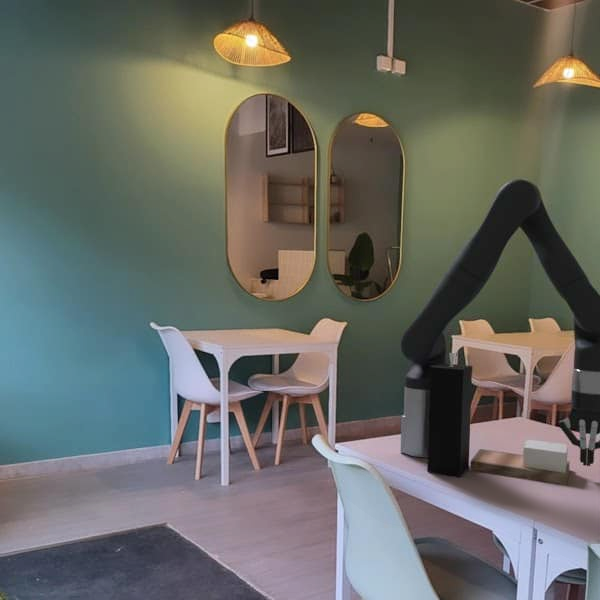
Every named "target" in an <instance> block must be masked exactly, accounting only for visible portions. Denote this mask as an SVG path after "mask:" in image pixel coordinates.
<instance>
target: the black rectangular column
mask: <svg viewBox="0 0 600 600" xmlns="http://www.w3.org/2000/svg"><path fill="white" fill-rule="evenodd" d="M455 354H456V353H455V352H454V353H453V352H449V363H446V362H445V363H439V364H436V365H433V366H430V398H429V432H428V457H427V468H426V469H427V470H426V471H427V472H429V473H433V474H434V473H435V474H440V475H444V476H450V477H454V478H457V477H458V478H461V477H462V476H463V475H464V473H466V472H467V471H468V470H469V468H470V467H469V466H470V444H471V442H470V441H471V438H470V436H471V412H472V411H471V410H472V409H471V407H472V376H473V365H465V364H456V363H455V358H456V357H455V356H456V355H455Z"/></svg>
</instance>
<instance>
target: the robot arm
mask: <svg viewBox="0 0 600 600" xmlns="http://www.w3.org/2000/svg"><path fill="white" fill-rule="evenodd" d="M519 228H520V229H521V231H522V232H523V233H524V235H526V237H527V239H528V240H529V242H530V244H531V246H532V247H533V249H534V252H535V253H536V255H537V258H538V261H539V262H540V265H541V266H542V268H543V270H544V273H546V276H547V278H548V279H549V281H550V282H551V284H552V285H553V287H554V289H555V290H556V291H557V293H558V295H559V296H560V297H561V298H562V299H564V301H565V302H566V304H567V305H568V307H569V310H570V311H571V312H572V314H573V333H574V334H573V335H574V336H573V337H574V353H573V372H572V376H571V394H570V395H571V396H570V397H571V398H570V399H571V400H570V411H569V412H568V415H567V417H566V418H564V419H561V420H558V421H559V422H558V427H559V428H560V429H561V431H563V433H564V435H565V436H566V437H567V439H568V441H570V443H571V444H572V445H573V446H576V447H578V448H579V449H580V450H579V451H580V452H579V462H580V463H582V465H583V466H587V467H591V465H592V464H594V462H595V461H594V460H595V450H597V449H600V439H599V440H598V441H596V440H597V435H599V434H600V294H599V292H598V291H597V290H596V288H595V287H594V286H593V285H592V284H591V282H590V280H589V278H588V276H587V274H586V273H585V271H584V269H583V268H582V266H581V265H580V263H579V262H578V261H577V259H576V257H575V256H574V254H573V253H572V252H571V251H572V250H570V249H569V247H568V246H567V244H566V243H565V242H564V240H563V238H562V237H561V235H560V234H559V232H558V230H557V229H556V228H555V226H554V224H553V222H552V220H551V218H550V215H549V214H548V211H547V209H546V206H545V204H544V201H543V198H542V194H541V192H540V190H539V188H538V186H537V185H536V184H534V183H533V182H531V181H528V180H526V179H518V178H517V179H512V180H509V181H508V182H506V183H505V184H503V186H501V188H500V189H499V190H498V192H497V193H496V196H495V197H494V200H493V202H492V204H491V205H490V207H489V209H488V211H487V213H486V215H485V217H484V219H483V221H482V222H481V224H480V226H479V227H478V228H477V230H476V231H475V233H473V235H472V236H471V237H470V239H469V240H468V241H467V242H466V243H465V245H464V246H463V248H462V249H461V251H460V252H459V254H458V255H457V256H456V258H455V259H454V260H453V262H452V264H451V265H450V267H449V269H448V270H447V271H446V273H445V275H444V276H443V278H442V280H441V282H440V283H439V284H438V286H437V288H436V289H435V291H434V292H433V294H432V296H431V297H430V299H429V300H428V302H427V304H426V305H425V306H424V308H423V309H422V310H421V312H420V313H418V315H417V316H416V318H415V319H414V320H413V322H412V323H410V325H409V326H408V328H406V329H405V331H404V332H403V335H402V337H401V340H400V348H401V349H400V350H401V353H402V355H403V356H404V357H405V358H406V359H407V360H409V361H410V362H411V366H410V369H409V370H408V372H407V373H406V374H405V377H404V397H403V398H404V402H403V405H404V407H403V408H404V409H403V415H401V419H400V421H401V422H400V424H401V425H400V453H402V454H406V455H408V456H411V457H416V458H428V432H429V398H430V366H433V365H436V364H439V363H445V364H446V354H447V342H446V338H445V334H444V331H445V330H446V328H447V326H448V325H449V324H450V322H451V321H452V320H454V318H455V317H456V316H457V315H458V314H460V313H461V312H462V311H463V310H464V309H465V308H466V307H467V306H468V305H470V304H471V303H472V302H473V301H474V300H475V299H476V297H477V296H478V295H479V294H480V292H481V291H482V290H483V288H484V286H485V285H486V284H487V282H488V281H489V280H490V278H491V276H492V275H493V272H494V271H495V269H496V267H497V266H498V262H499V260H500V259H501V256H502V253H503V252H504V249H505V247H506V246H507V244H508V242H510V239H511V238H512V237H513V236H514V234H515V233H516V232H517V230H518V229H519ZM571 425H572V426H573V427H574V429H575V430H576V431H577V432H578V433H579V439H578V438H577V436H576V435H575V434H574V432H573V431H572V429H571ZM587 434H588V435H589V441H588V447H587Z"/></svg>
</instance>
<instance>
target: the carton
mask: <svg viewBox="0 0 600 600" xmlns="http://www.w3.org/2000/svg"><path fill="white" fill-rule="evenodd" d="M525 441H526V442H525V444H524V446H523V454H522V455H523V467H529V468H536V469H543V470H549V471H556V472H563V473H565V472H566V466H567V461H568V446H569V445H568V444H565V443H557V442H556V443H555V442H550V441H549V442H548V441H542V440H540V441H539V440H533V439H526V440H525Z"/></svg>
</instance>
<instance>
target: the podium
mask: <svg viewBox="0 0 600 600" xmlns="http://www.w3.org/2000/svg"><path fill="white" fill-rule="evenodd" d="M470 470H471V471H478V472H484V473H491V474H497V475H503V476H511V477H515V478H522V479H529V480H536V481H543V482H548V483H554V484H561V485H565V486H566V485H568V482H569V476H570V475H569V474H570V461H568V460H567V466H566V472H565V473H563V472H556V471H549V470H543V469H536V468H529V467H523V454H518V453H511V452H503V451H496V450H488V449H483V448H482V449H481V448H479V449H478V450H477V452H476V453H475V455H474V456H473V457H472V459H471V460H470Z"/></svg>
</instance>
